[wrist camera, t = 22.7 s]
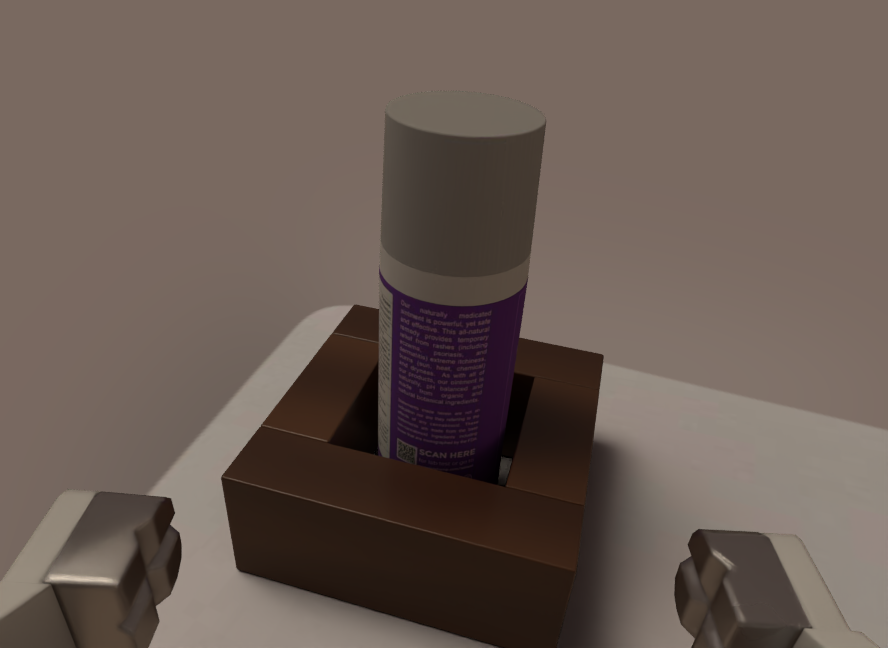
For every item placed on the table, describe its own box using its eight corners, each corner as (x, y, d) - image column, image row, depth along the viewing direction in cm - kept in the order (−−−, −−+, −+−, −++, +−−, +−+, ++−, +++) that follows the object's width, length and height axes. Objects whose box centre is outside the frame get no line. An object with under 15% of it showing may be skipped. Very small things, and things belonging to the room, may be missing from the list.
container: (519, 494, 27) (585, 118, 18) (436, 562, 24) (472, 150, 16) (436, 435, 29) (461, 82, 21) (352, 489, 26) (345, 104, 18)
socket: (552, 662, 21) (576, 571, 18) (236, 569, 23) (219, 477, 20) (584, 435, 30) (604, 353, 27) (355, 383, 32) (354, 303, 29)
